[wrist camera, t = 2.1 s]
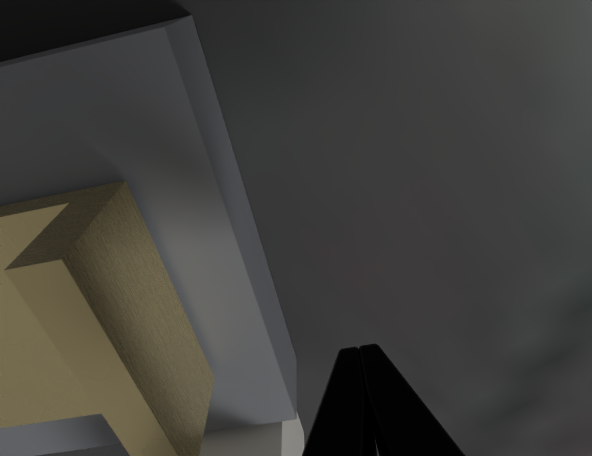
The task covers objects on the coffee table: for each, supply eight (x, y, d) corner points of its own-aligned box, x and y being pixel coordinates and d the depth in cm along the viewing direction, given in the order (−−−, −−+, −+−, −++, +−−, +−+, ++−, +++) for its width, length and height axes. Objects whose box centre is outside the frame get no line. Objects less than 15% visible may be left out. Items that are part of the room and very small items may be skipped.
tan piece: (214, 377, 15) (193, 482, 12) (14, 408, 16) (-54, 514, 13) (125, 180, 11) (61, 259, 8) (-131, 233, 12) (-278, 323, 9)
